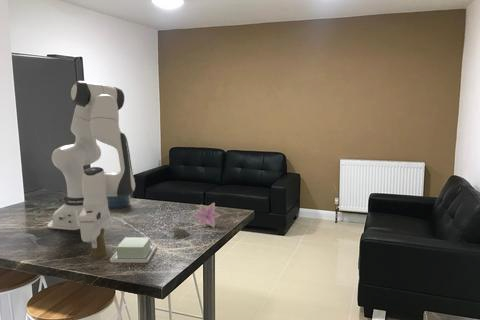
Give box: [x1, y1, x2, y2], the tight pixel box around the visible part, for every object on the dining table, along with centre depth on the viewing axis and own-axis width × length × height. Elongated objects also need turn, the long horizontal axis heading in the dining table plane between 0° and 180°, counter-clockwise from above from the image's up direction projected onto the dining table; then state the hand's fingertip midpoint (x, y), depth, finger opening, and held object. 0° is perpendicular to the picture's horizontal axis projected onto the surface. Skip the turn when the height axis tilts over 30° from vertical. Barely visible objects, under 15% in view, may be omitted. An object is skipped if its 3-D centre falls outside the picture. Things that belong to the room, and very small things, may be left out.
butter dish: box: [109, 236, 158, 264], centre depth 151 cm, size 14×14×5 cm
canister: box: [106, 195, 131, 210], centre depth 217 cm, size 13×13×18 cm
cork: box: [90, 228, 108, 259], centre depth 151 cm, size 6×6×11 cm
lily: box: [192, 202, 221, 228], centre depth 187 cm, size 12×12×10 cm
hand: (98, 244), depth 151 cm, fingers closed on cork, 5 cm apart
